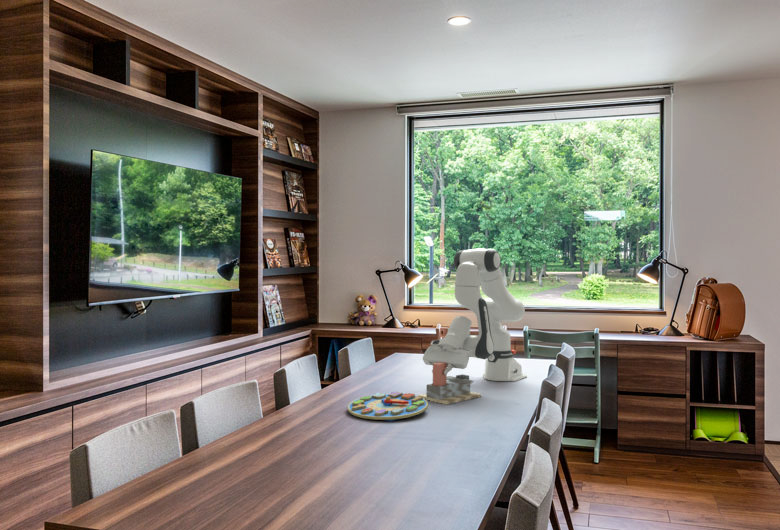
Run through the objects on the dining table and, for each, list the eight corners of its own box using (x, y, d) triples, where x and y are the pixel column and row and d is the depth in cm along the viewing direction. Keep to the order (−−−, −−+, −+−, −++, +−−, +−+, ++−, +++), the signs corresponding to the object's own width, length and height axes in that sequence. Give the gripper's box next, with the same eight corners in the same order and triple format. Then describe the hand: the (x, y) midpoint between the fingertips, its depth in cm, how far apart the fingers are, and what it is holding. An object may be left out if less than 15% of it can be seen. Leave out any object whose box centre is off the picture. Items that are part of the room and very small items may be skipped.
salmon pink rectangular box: (439, 383, 265) (439, 361, 265) (446, 384, 263) (446, 362, 263) (432, 385, 261) (432, 363, 261) (440, 386, 259) (440, 364, 259)
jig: (453, 390, 280) (453, 372, 280) (481, 396, 268) (481, 377, 268) (418, 397, 265) (418, 378, 265) (446, 404, 253) (446, 384, 253)
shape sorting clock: (331, 412, 241) (331, 397, 241) (385, 399, 263) (386, 385, 263) (390, 427, 220) (390, 410, 220) (444, 412, 242) (444, 396, 242)
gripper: (475, 354, 265) (463, 381, 257) (433, 349, 277) (421, 375, 269) (470, 344, 261) (458, 371, 254) (428, 340, 273) (415, 366, 266)
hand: (439, 373), depth 261 cm, fingers closed on salmon pink rectangular box, 4 cm apart
